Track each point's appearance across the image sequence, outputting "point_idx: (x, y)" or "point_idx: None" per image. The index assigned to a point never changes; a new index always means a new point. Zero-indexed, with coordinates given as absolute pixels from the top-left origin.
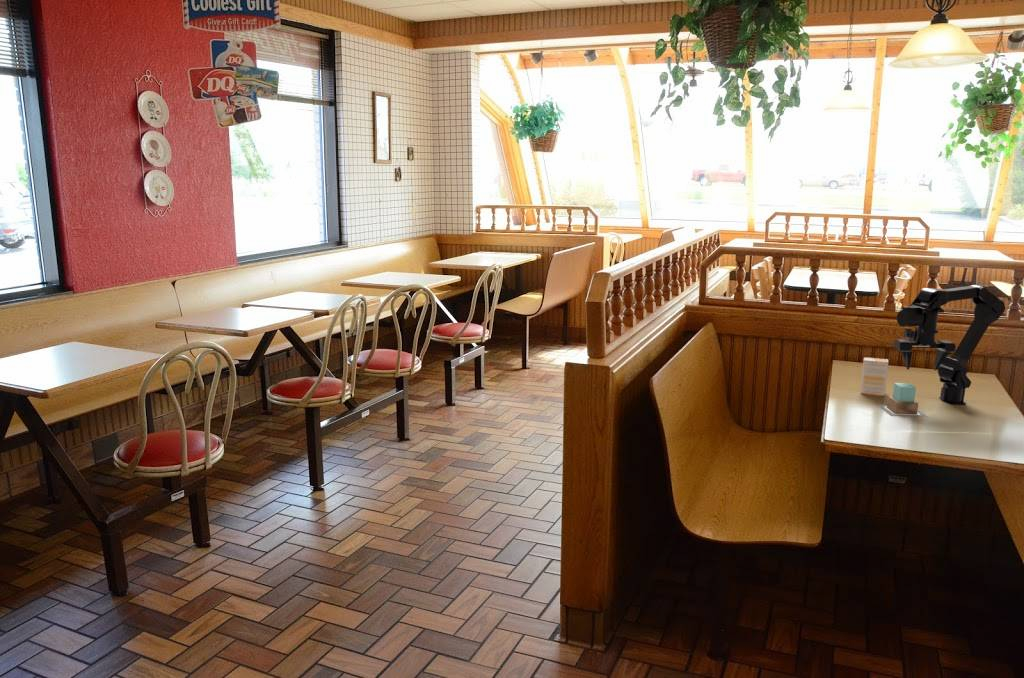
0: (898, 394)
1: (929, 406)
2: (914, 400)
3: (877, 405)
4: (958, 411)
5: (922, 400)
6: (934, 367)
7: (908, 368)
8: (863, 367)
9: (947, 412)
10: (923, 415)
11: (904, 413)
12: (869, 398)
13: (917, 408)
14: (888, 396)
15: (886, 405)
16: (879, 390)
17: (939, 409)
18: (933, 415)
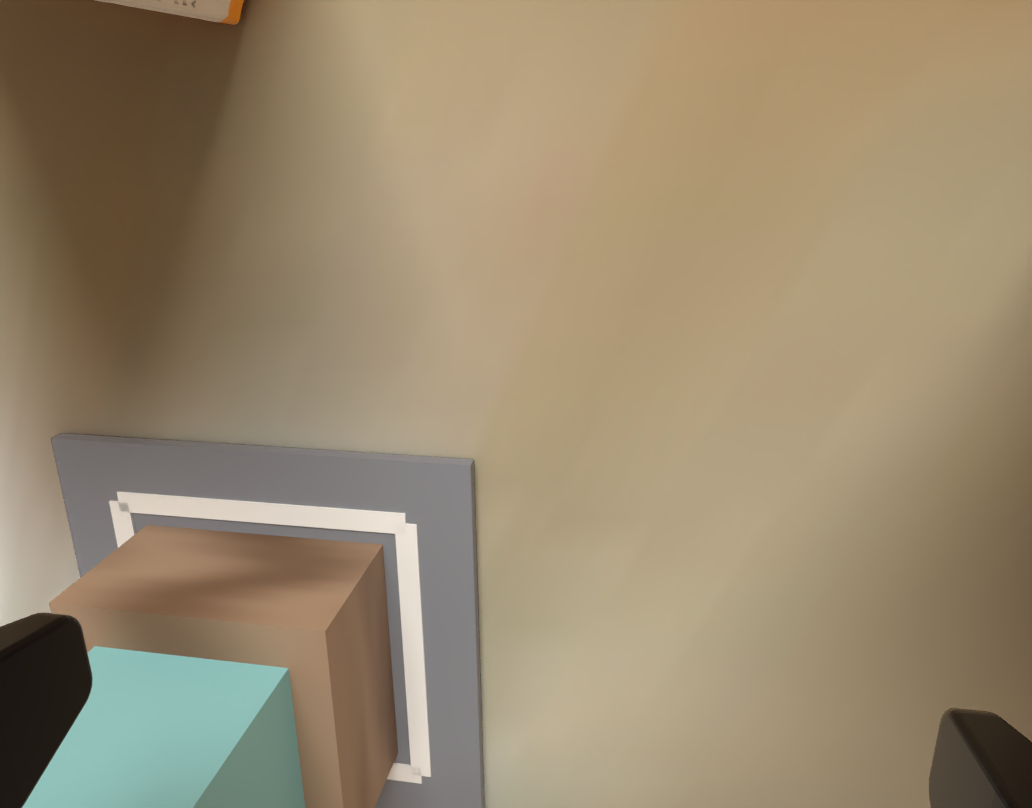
0: None
1: (729, 442)
2: (332, 790)
3: (57, 465)
4: (1023, 642)
5: (788, 144)
6: (961, 806)
7: (48, 727)
8: None
9: (833, 671)
10: (451, 791)
11: None
12: (29, 107)
13: (373, 804)
14: (54, 606)
15: (157, 464)
16: None
17: (798, 562)
18: (589, 753)
